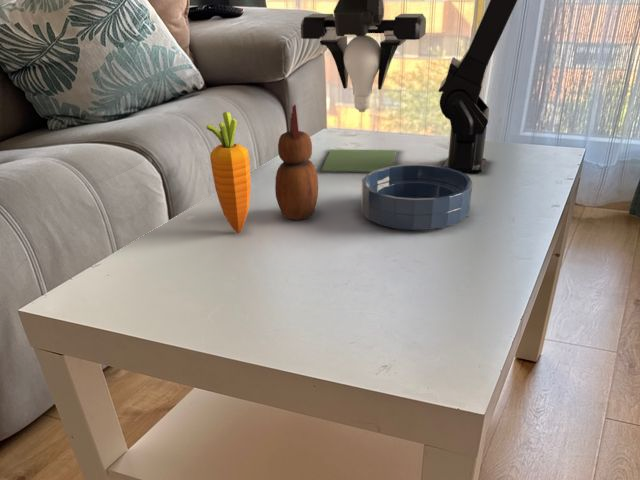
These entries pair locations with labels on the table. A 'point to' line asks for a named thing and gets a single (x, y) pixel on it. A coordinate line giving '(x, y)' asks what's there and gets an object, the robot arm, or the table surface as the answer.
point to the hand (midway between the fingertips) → (362, 88)
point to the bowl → (416, 196)
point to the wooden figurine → (296, 173)
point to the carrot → (231, 173)
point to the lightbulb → (362, 68)
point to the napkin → (358, 160)
